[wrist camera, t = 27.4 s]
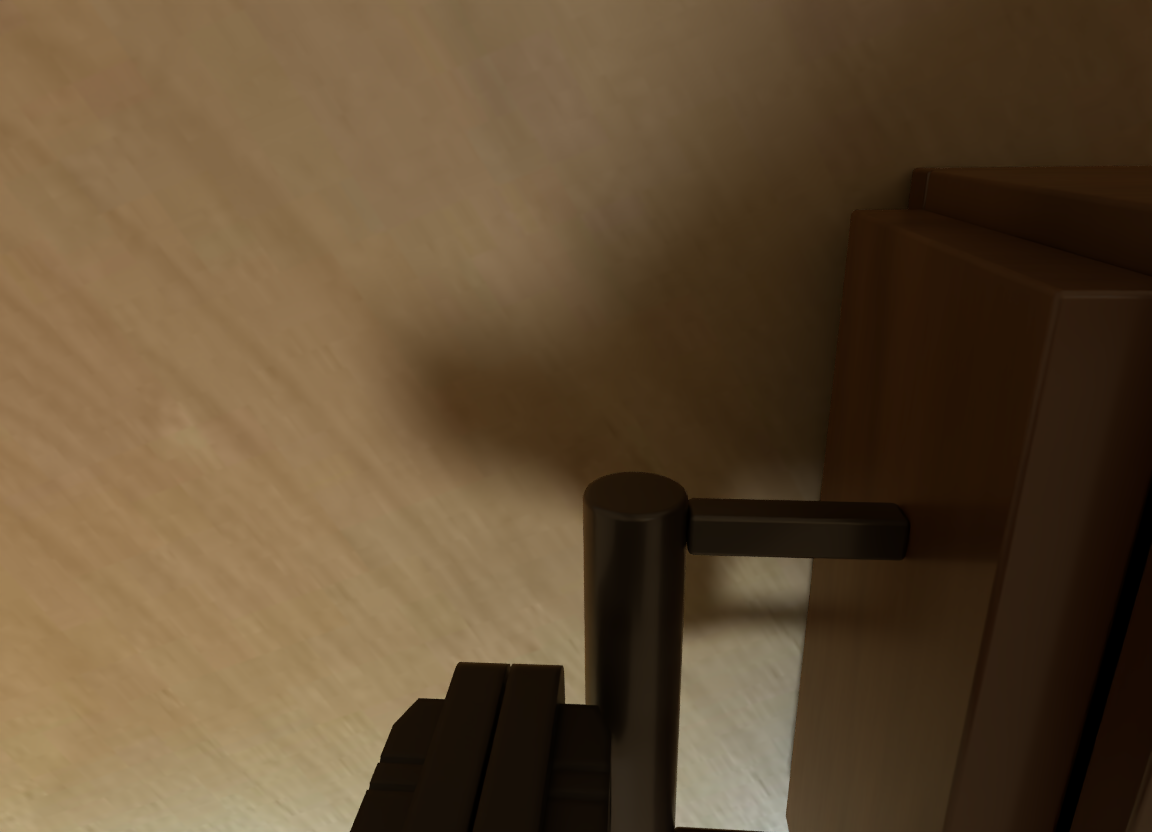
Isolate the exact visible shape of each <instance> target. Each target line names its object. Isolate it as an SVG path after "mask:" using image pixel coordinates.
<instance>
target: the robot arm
mask: <svg viewBox="0 0 1152 832" xmlns="http://www.w3.org/2000/svg"><path fill="white" fill-rule="evenodd" d="M380 757H381V759H380V763H378V764H377V766H376V769H375V771H374V774H373V776H372V779H371V781H370V787H369V790H367V791H366V794H365V796H364V798H363V801H362V803H361V806H360V808H359V811H358V813H357V816H356V818H355V821H354V823H353V826H352V828H351V831H350V832H611V732H610V730H609V728H608V726H607V724H606V722H605V719H604V717H603V715H602V713H601V711H600V709H599V707H598V705H580V704H565V684H564V668H563V666H562V665H535V664H512V666H510V664H501V663H473V662H459V663H458V664H457V666H456V668H455V671H454V674H453V677H452V680H451V683H450V686H449V689H448V692H447V695H446V698H445V699H424V698H419V699H418V700H417V701H416V702H415V703H414V704H413V705H412V706H411V707H410V708H409V709H408V710H407V711H406V712H405V713H404V714H403V715H402V716H401V717H400V718H399V719H398V720H397V721H396V722H395V724H394V725H393V727H392V729H391V732H390V734H389V737H388V739H387V742H386V744H385V747H384V749H383V751H382V754H381V756H380Z"/></svg>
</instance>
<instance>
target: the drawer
mask: <svg viewBox="0 0 1152 832" xmlns="http://www.w3.org/2000/svg"><path fill="white" fill-rule="evenodd" d="M583 536H584V619H585V701H586V705H598V707H599V709H600V711H601V713H602V715H603V717H604V719H605V722H606V724H607V726H608V728H609V730H610V732H611V832H762V831H744V830H726V829H708V828H690V827H676V828H675V810H676V786H677V762H678V738H679V714H680V690H681V666H682V642H683V618H684V594H685V570H686V546H687V548H688V551H689V553H690V554H692V555H717V556H752V557H788V558H814V561H813V570H812V580H811V589H810V598H809V607H808V616H807V626H806V635H805V644H804V653H803V662H802V671H801V681H800V690H799V699H798V708H797V717H796V727H795V736H794V745H793V754H792V763H791V773H790V782H789V791H788V800H787V809H786V819H787V824H788V829H789V832H1069V831H1070V827H1071V824H1072V820H1073V817H1074V813H1075V810H1076V806H1077V803H1078V799H1079V796H1080V792H1081V789H1082V785H1083V782H1084V778H1085V775H1086V771H1087V767H1088V764H1089V760H1090V757H1091V753H1092V750H1093V746H1094V743H1095V739H1096V736H1097V732H1098V729H1099V725H1100V722H1101V718H1102V715H1103V711H1104V708H1105V704H1106V701H1107V697H1108V694H1109V690H1110V686H1111V683H1112V679H1113V676H1114V672H1115V669H1116V665H1117V662H1118V658H1119V655H1120V651H1121V648H1122V644H1123V641H1124V637H1125V634H1126V630H1127V627H1128V623H1129V620H1130V616H1131V613H1132V609H1133V605H1134V602H1135V598H1136V595H1137V591H1138V588H1139V584H1140V581H1141V577H1142V574H1143V570H1144V567H1145V563H1146V560H1147V556H1148V553H1149V549H1150V546H1151V542H1152V277H1151V276H1148V275H1144V274H1141V273H1137V272H1134V271H1131V270H1127V269H1124V268H1120V267H1117V266H1114V265H1110V264H1107V263H1103V262H1100V261H1096V260H1093V259H1090V258H1086V257H1083V256H1079V255H1076V254H1073V253H1069V252H1066V251H1062V250H1059V249H1056V248H1052V247H1049V246H1045V245H1042V244H1039V243H1035V242H1032V241H1028V240H1025V239H1022V238H1018V237H1015V236H1011V235H1008V234H1004V233H1001V232H998V231H994V230H991V229H987V228H984V227H981V226H977V225H974V224H970V223H967V222H964V221H960V220H957V219H953V218H950V217H947V216H943V215H940V214H936V213H933V212H930V211H926V210H923V209H874V210H854V211H853V212H852V214H851V221H850V230H849V239H848V249H847V258H846V267H845V276H844V285H843V295H842V304H841V313H840V322H839V331H838V341H837V350H836V359H835V368H834V377H833V386H832V396H831V405H830V414H829V423H828V432H827V442H826V451H825V460H824V469H823V478H822V488H821V497H820V501H798V500H754V499H710V498H691V499H689V500H688V496H687V493H686V491H685V489H684V488H683V487H682V486H681V485H680V484H679V483H677V482H676V481H674V480H672V479H670V478H667V477H665V476H661V475H657V474H652V473H645V472H622V473H615V474H610V475H606V476H603V477H601V478H598V479H596V480H595V481H593V482H592V483H590V484H589V485H588V487H587V488H586V490H585V492H584V495H583Z"/></svg>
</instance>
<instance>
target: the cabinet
mask: <svg viewBox="0 0 1152 832" xmlns="http://www.w3.org/2000/svg"><path fill="white" fill-rule="evenodd" d="M908 209H923V210H926V211H930V212H933V213H936V214H940V215H943V216H947V217H950V218H953V219H957V220H960V221H964V222H967V223H970V224H974V225H977V226H981V227H984V228H987V229H991V230H994V231H998V232H1001V233H1004V234H1008V235H1011V236H1015V237H1018V238H1022V239H1025V240H1028V241H1032V242H1035V243H1039V244H1042V245H1045V246H1049V247H1052V248H1056V249H1059V250H1062V251H1066V252H1069V253H1073V254H1076V255H1079V256H1083V257H1086V258H1090V259H1093V260H1096V261H1100V262H1103V263H1107V264H1110V265H1114V266H1117V267H1120V268H1124V269H1127V270H1131V271H1134V272H1137V273H1141V274H1144V275H1148V276H1151V277H1152V165H1150V166H1056V167H962V168H916V169H914V170H913V174H912V181H911V189H910V196H909V204H908ZM1069 832H1152V542H1151V546H1150V549H1149V553H1148V556H1147V560H1146V563H1145V567H1144V570H1143V574H1142V577H1141V581H1140V584H1139V588H1138V591H1137V595H1136V598H1135V602H1134V605H1133V609H1132V613H1131V616H1130V620H1129V623H1128V627H1127V630H1126V634H1125V637H1124V641H1123V644H1122V648H1121V651H1120V655H1119V658H1118V662H1117V665H1116V669H1115V672H1114V676H1113V679H1112V683H1111V686H1110V690H1109V694H1108V697H1107V701H1106V704H1105V708H1104V711H1103V715H1102V718H1101V722H1100V725H1099V729H1098V732H1097V736H1096V739H1095V743H1094V746H1093V750H1092V753H1091V757H1090V760H1089V764H1088V767H1087V771H1086V775H1085V778H1084V782H1083V785H1082V789H1081V792H1080V796H1079V799H1078V803H1077V806H1076V810H1075V813H1074V817H1073V820H1072V824H1071V827H1070V831H1069Z"/></svg>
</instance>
